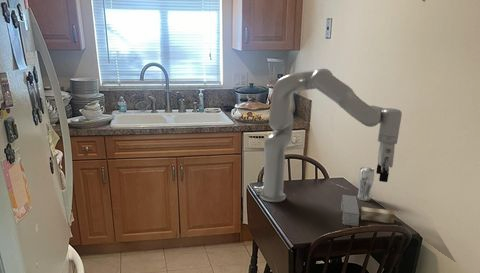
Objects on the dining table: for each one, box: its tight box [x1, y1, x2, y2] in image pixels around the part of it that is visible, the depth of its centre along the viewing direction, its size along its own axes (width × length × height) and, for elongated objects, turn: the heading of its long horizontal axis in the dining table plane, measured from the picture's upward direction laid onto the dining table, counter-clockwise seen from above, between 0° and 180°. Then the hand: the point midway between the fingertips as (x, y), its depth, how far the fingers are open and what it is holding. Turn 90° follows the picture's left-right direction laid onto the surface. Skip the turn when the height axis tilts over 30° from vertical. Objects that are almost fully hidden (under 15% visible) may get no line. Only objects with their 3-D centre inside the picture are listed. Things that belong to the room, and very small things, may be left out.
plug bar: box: [359, 206, 396, 224], centre depth 159 cm, size 13×4×4 cm, turn 77°
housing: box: [340, 194, 360, 227], centre depth 161 cm, size 6×19×6 cm, turn 167°
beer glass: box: [356, 166, 375, 202], centre depth 179 cm, size 7×7×15 cm
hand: (381, 177), depth 158 cm, fingers open, 9 cm apart
